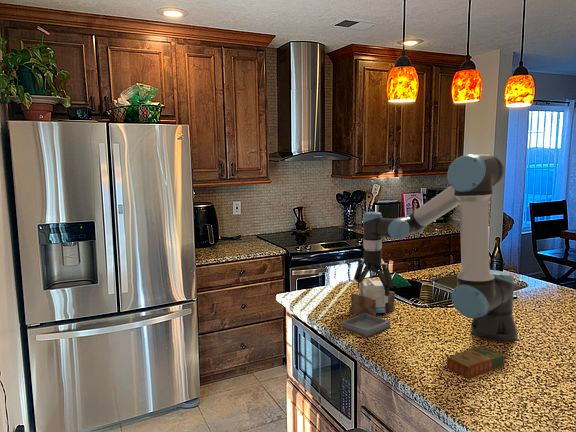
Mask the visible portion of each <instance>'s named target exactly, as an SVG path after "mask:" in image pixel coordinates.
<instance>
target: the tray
mask: <svg viewBox="0 0 576 432" xmlns="http://www.w3.org/2000/svg"><path fill="white" fill-rule="evenodd" d="M389 328H391V320H388V319H386V318H382V317H379V316H373V315H370V314H367V313H362V314H360V315H359V314H357V315H356V316H355V315H354V316H352V317H350V318H348V319H346V320H342V321H341V329H343V330H346V331H349V332H351V333H355V334H357V335H361V336H362V337H365V338H370V337H373V336H375V335H377V334H379V333H381V332H383V331H385V330H387V329H389Z"/></svg>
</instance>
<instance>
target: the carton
mask: <svg viewBox="0 0 576 432" xmlns="http://www.w3.org/2000/svg"><path fill="white" fill-rule="evenodd" d="M503 367H505V355H504V354H503V353H501V352H499V351H495V350H493V349H490V348H488V347H486V346H482V345H480V346H477V347H474V348H471V349H467V350H465V351H461V352H459V353H456V354H453V355H450V356H447V357H446V369H447V370H449V371H451V372H453V373H454V374H457V375H459V376H461V377H462V378H465V379H466V380H472V379H474V378H477V377H479V376H482V375H485V374H488V373H490V372H492V371H495V370H498V369H502V368H503Z"/></svg>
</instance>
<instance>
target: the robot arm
mask: <svg viewBox="0 0 576 432" xmlns="http://www.w3.org/2000/svg"><path fill="white" fill-rule="evenodd" d="M504 174H505V166H504V164H503V162H502V160H501V159H500V158H499V157H498V156H497V155H493V154H491V153H482V154H481V153H480V154H479V153H478V154H477V153H475V154H474V153H469V154H465V155H461V156H459V157H456V158H455V159H454V160H453V161H452V162H451V163H450V165H449V166H448V170H447V175H446V178H447V182H448V184H449V185H450V186H448V187H446V188H445V189H444V190H442V191H441V192H440V193H438V194H437V195H436V196H434V197H432V198H431V199H430V200H428V201H427V202H425V203H424V204H422V205H421V206H420V207H418V208H417V209H416V210H414V211H413V212H411V213H409V214H408V215H406V216H401V217H395V218H388V217H385V218H384V217H383V216H382V215H383V214H382V213H381V212H379V211H366V212H364V214H363V219H362V227H363V239H362V240H363V245H362V246H363V258H360V259H358V261H357V268H356V271H355V274H354V277H353V279H354V281H357V289H358V295H361V296H362V281H365V278H366V276H367V275H368V274H369V272H373V273H375V274H376V275H377V277H378V279H379V281H380V280H381V282H382V284H383V286H384V288H383V304H386V303H388V296H389V294H390V291H391V290H390V288H393V287H394V286H395V284H394V281H393V279H392V275H391V272H390V269H389V263H388V262H382V258H383V250H382V248H383V243H382V242H383V240H382V239H383V237H384V238H391V239H395V240H397V239H398V240H399V239H400V240H404V239H406V237H407V236H409V235H413V234H418V233H420V232H423V231H424V230H425V228H426V227H427V226H428V225H430V224H431V223H432V222H434V221H436V220H437V219H439V218H441V217H442V216H444V215H446V214H447V213H449V212H450V211H451V210H453V209H454V208H456V207H457V206H459V231H460V232H459V233H460V254H461V255H460V256H461V257H460V258H461V261H460V263H461V265H460V266H461V267H460V268H461V271H460V272H459V273H458V274H457V276H456V283H457V285H456V286H455V288H454V289H453V290H452V292H451V298H450V299H451V303H452V306H453V307H454V308H455V310H457V311H458V313H459V314H460V315H462V316H463V317H466V318H469V319H472V322H471V325H470V331H471V333H472V334H473V336H475V337H478V338H480V339H484V340H487V341H492V342H500V343H501V342H502V343H503V342H512V341H514V340H517V337H518V329H517V324H516V322H515V319H514V316H513V309H514V287H515V281H514V280H515V279H514V275H513V274H512V273H509V272H505V271H502V270H501V271H500V270H496V269H490V247H489V246H490V245H489V244H490V243H489V239H490V238H489V207H488V206H489V205H488V204H489V202H488V200H489V199H490V198H491V197H492V196H493V187H495V186H497V185H498V184H499V183H500V182H501V181H502V179H503V178H504Z"/></svg>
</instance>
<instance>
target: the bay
mask: <svg viewBox="0 0 576 432" xmlns="http://www.w3.org/2000/svg"><path fill="white" fill-rule="evenodd" d="M395 297H396V296H395V292H394V291H392V290H390V294H389V296H388V303H386V304H385V310H388V311H392V312H394V311H395V300H396V299H395ZM348 311H349V312H351V313H352V314H353V313H354V314H357V315H360V314H362V313H367V314H370V315H373V316H376V314H377V313H376V300H375V299H372V298H368V297H364V296H361V295H359V294H357V293H350V306H349V309H348ZM376 317H377V316H376Z"/></svg>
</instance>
